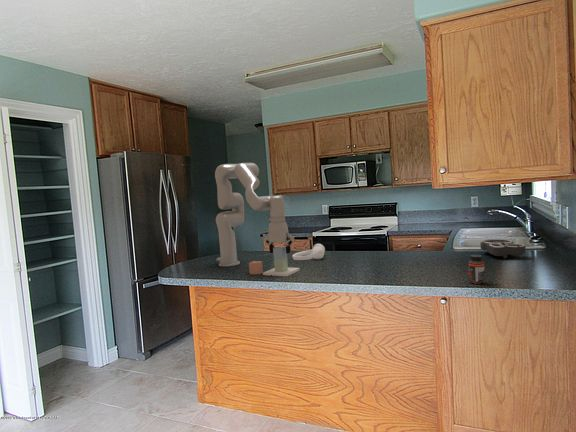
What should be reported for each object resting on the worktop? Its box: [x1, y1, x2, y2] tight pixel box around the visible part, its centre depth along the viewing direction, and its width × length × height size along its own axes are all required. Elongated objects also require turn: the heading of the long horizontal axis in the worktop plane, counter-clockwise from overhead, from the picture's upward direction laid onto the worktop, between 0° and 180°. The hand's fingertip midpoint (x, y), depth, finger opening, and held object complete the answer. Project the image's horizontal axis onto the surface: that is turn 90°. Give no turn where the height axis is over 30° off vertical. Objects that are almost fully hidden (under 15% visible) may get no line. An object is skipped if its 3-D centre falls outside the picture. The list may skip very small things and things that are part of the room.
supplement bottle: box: [468, 254, 486, 285], centre depth 165 cm, size 6×6×11 cm
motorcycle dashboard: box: [479, 238, 527, 261], centre depth 214 cm, size 26×16×7 cm, turn 174°
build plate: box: [262, 257, 301, 277], centre depth 210 cm, size 14×14×7 cm
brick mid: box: [272, 246, 288, 261], centre depth 209 cm, size 5×5×6 cm
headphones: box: [292, 243, 326, 261], centre depth 245 cm, size 19×8×20 cm
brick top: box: [248, 260, 264, 275], centre depth 213 cm, size 5×5×6 cm
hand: (280, 252), depth 209 cm, fingers open, 9 cm apart
